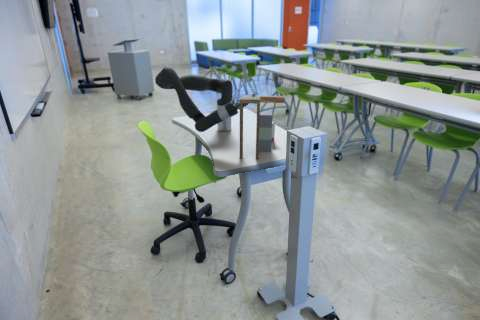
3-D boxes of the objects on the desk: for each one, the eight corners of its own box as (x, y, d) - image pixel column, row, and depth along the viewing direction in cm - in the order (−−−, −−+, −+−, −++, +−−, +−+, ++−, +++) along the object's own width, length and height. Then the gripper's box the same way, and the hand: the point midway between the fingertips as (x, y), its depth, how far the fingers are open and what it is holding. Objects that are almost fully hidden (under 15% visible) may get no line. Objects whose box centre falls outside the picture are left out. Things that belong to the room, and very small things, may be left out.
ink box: (272, 138, 193) (273, 120, 188) (274, 141, 189) (275, 123, 184) (258, 139, 192) (259, 121, 187) (260, 142, 187) (261, 123, 182)
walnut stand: (240, 154, 171) (240, 96, 158) (258, 154, 170) (260, 96, 157) (239, 158, 165) (239, 99, 152) (258, 159, 165) (260, 99, 152)
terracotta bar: (243, 100, 168) (243, 95, 167) (283, 101, 167) (284, 96, 166) (242, 101, 165) (242, 96, 164) (284, 103, 164) (284, 97, 163)
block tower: (256, 147, 180) (257, 112, 172) (270, 147, 180) (272, 112, 171) (256, 151, 175) (257, 115, 166) (270, 151, 175) (272, 115, 166)
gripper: (222, 108, 162) (251, 92, 157) (225, 102, 174) (252, 87, 170) (229, 120, 164) (258, 105, 160) (231, 113, 177) (258, 99, 173)
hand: (255, 96), depth 165 cm, fingers closed on terracotta bar, 3 cm apart
